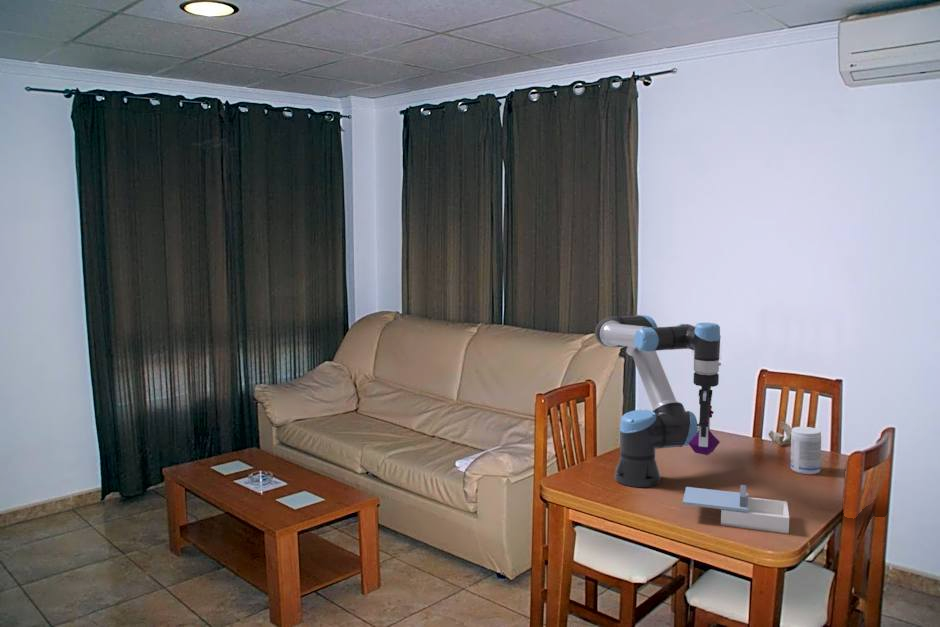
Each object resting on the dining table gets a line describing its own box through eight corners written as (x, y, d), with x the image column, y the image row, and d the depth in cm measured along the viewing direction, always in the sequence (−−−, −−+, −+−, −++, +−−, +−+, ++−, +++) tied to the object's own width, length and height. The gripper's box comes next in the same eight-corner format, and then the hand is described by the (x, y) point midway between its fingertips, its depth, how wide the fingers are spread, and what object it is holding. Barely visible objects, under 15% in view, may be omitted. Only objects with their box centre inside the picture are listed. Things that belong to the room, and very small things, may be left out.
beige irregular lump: (766, 442, 281) (770, 418, 284) (766, 446, 286) (770, 422, 289) (790, 446, 277) (793, 421, 280) (790, 450, 282) (793, 426, 285)
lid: (682, 504, 211) (682, 491, 211) (686, 489, 223) (686, 477, 223) (748, 512, 205) (748, 499, 204) (748, 496, 217) (748, 484, 216)
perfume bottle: (696, 447, 235) (698, 393, 232) (719, 451, 230) (721, 396, 227) (687, 453, 229) (689, 398, 226) (710, 457, 224) (712, 401, 222)
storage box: (720, 524, 208) (721, 509, 208) (722, 508, 220) (722, 494, 220) (788, 533, 202) (789, 518, 201) (786, 516, 214) (786, 501, 213)
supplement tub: (825, 471, 251) (827, 430, 249) (810, 477, 246) (811, 435, 244) (799, 464, 259) (801, 424, 257) (784, 469, 254) (785, 429, 252)
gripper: (717, 380, 215) (714, 453, 218) (720, 366, 235) (717, 433, 238) (691, 378, 217) (689, 450, 220) (696, 364, 237) (694, 431, 240)
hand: (704, 441), depth 229 cm, fingers closed on perfume bottle, 9 cm apart
